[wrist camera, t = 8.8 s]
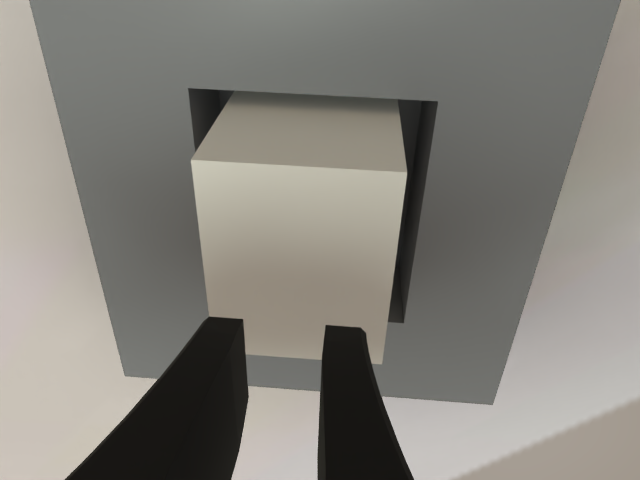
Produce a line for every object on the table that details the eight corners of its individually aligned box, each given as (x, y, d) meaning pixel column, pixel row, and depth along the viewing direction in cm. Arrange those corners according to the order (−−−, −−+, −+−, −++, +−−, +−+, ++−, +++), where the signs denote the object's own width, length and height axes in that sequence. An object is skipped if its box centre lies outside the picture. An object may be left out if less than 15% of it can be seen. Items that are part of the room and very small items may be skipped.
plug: (394, 79, 14) (407, 172, 10) (378, 235, 17) (381, 364, 13) (246, 71, 15) (190, 160, 10) (254, 227, 17) (213, 351, 13)
